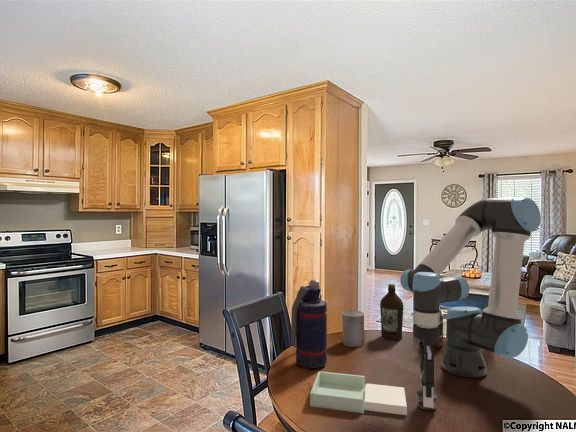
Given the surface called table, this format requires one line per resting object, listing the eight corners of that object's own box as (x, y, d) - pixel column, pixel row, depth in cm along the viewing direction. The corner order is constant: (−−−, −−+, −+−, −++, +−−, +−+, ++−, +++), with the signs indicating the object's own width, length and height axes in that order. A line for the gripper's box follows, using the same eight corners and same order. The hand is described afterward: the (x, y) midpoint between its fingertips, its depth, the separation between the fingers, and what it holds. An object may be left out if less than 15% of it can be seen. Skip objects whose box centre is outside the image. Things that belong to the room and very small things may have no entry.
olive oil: (383, 332, 179) (383, 281, 179) (405, 336, 174) (405, 283, 173) (377, 339, 169) (377, 285, 169) (400, 342, 164) (400, 287, 164)
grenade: (318, 356, 148) (318, 283, 148) (332, 368, 137) (332, 288, 137) (286, 361, 143) (286, 285, 143) (298, 374, 132) (298, 291, 132)
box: (366, 388, 121) (366, 376, 121) (364, 413, 106) (364, 399, 106) (318, 382, 125) (318, 371, 125) (310, 406, 110) (310, 393, 110)
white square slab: (404, 395, 117) (404, 387, 117) (406, 415, 105) (406, 406, 105) (365, 390, 119) (365, 383, 119) (364, 409, 108) (364, 401, 108)
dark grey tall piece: (432, 400, 112) (432, 361, 112) (440, 410, 107) (440, 370, 106) (413, 400, 112) (413, 362, 112) (421, 411, 106) (420, 370, 106)
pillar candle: (352, 338, 171) (351, 306, 171) (369, 343, 163) (368, 310, 163) (338, 343, 165) (337, 310, 164) (354, 349, 157) (354, 314, 157)
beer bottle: (444, 343, 163) (444, 290, 163) (441, 348, 157) (441, 293, 157) (426, 340, 168) (426, 288, 167) (422, 345, 161) (422, 291, 161)
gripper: (410, 315, 119) (411, 385, 119) (416, 333, 101) (416, 416, 101) (434, 316, 117) (435, 387, 118) (445, 335, 99) (445, 420, 99)
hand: (426, 401), depth 109 cm, fingers closed on dark grey tall piece, 6 cm apart
